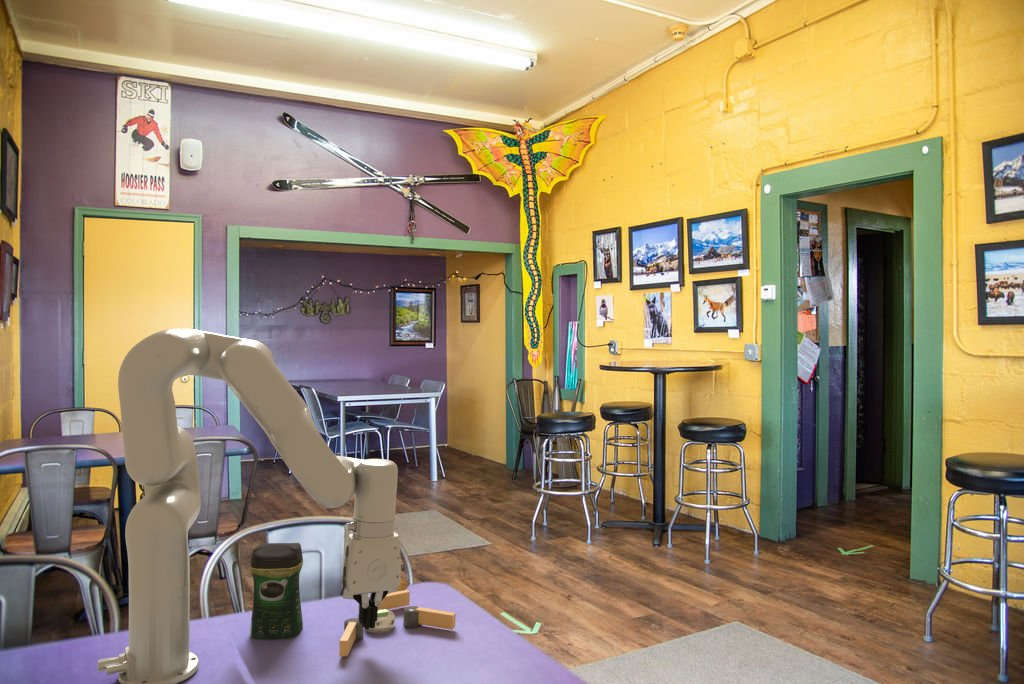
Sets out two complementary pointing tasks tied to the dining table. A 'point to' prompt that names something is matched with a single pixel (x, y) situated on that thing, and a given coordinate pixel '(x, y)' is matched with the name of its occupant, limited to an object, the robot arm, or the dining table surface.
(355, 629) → the knob left
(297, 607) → the coffee jar
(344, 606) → the dining table surface
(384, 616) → the level plate
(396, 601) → the knob back
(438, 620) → the knob right
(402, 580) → the pastry
